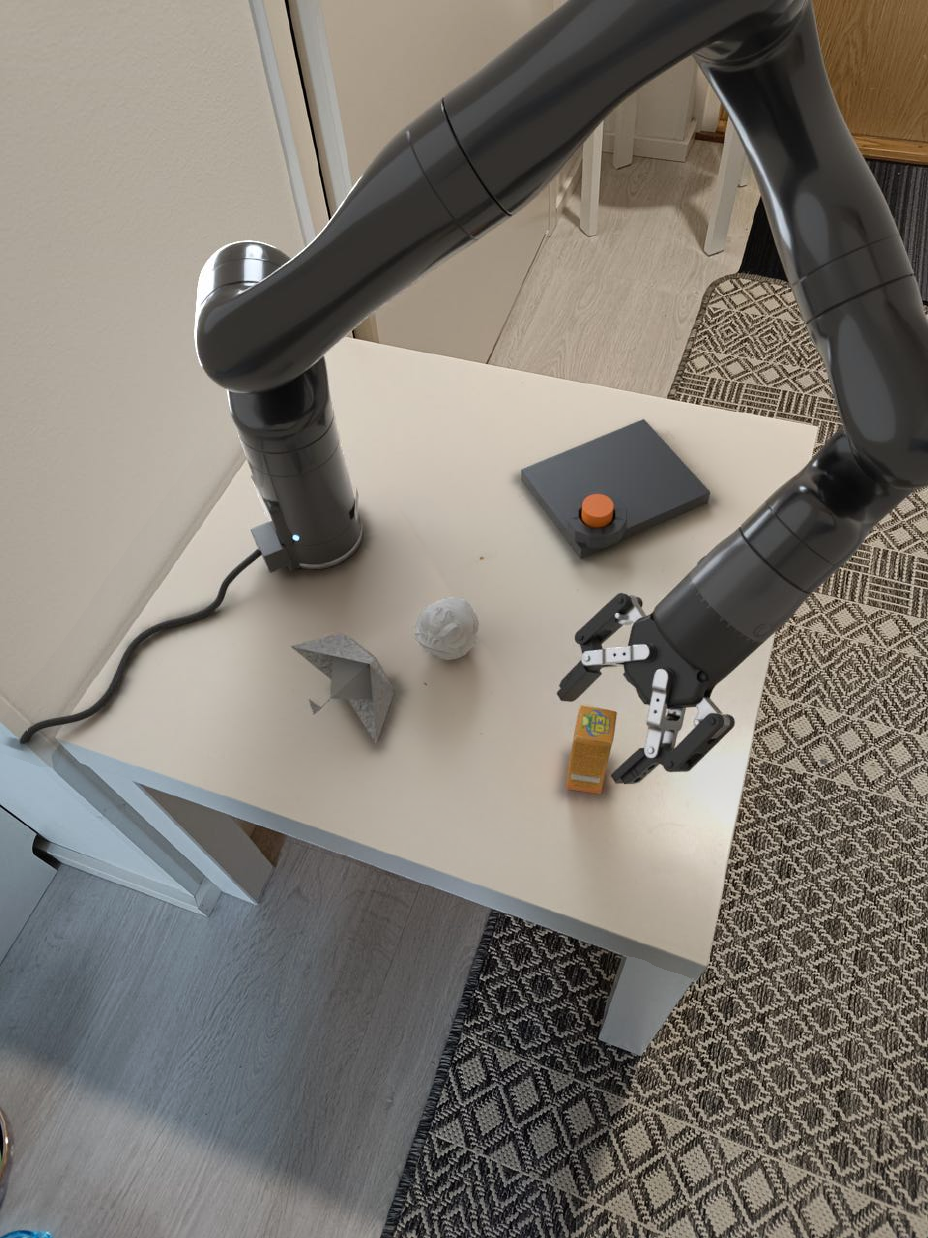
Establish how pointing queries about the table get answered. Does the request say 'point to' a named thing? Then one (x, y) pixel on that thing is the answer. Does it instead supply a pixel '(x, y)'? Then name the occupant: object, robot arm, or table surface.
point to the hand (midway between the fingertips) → (590, 737)
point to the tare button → (597, 510)
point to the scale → (615, 486)
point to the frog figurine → (447, 628)
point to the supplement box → (591, 749)
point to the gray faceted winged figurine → (351, 678)
